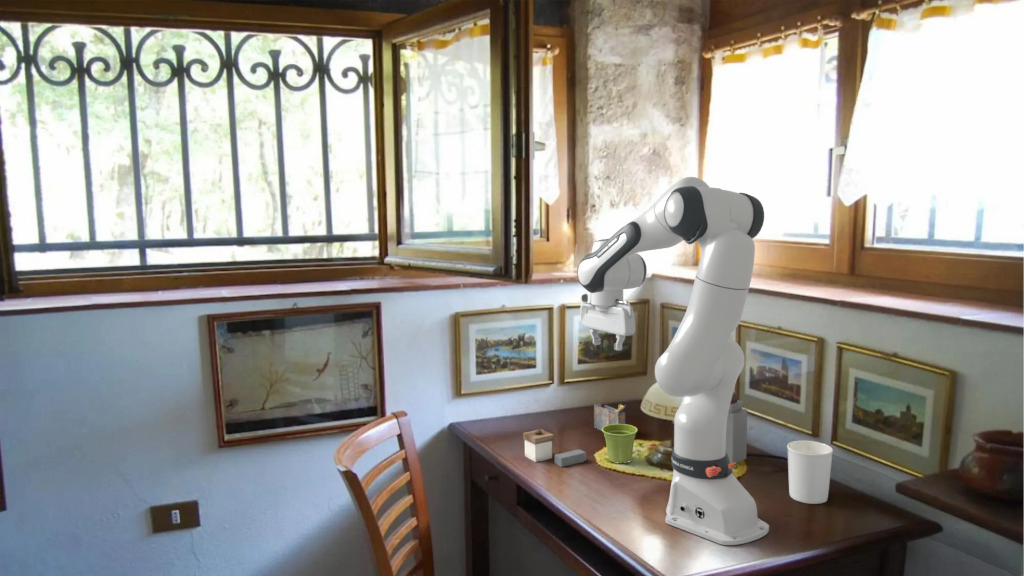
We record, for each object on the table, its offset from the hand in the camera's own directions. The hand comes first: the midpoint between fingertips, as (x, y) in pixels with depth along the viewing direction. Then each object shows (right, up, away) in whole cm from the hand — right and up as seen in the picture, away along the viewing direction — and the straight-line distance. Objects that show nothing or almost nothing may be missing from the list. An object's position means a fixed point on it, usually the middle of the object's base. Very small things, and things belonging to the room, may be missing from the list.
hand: (607, 347), depth 201 cm
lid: (-19, -25, -3) cm, 32 cm away
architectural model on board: (+3, -28, +19) cm, 34 cm away
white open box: (-19, -30, -3) cm, 36 cm away
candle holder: (+43, -33, -32) cm, 62 cm away
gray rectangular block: (-11, -30, -7) cm, 33 cm away
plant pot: (+3, -30, -6) cm, 31 cm away
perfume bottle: (+32, -30, -6) cm, 44 cm away
